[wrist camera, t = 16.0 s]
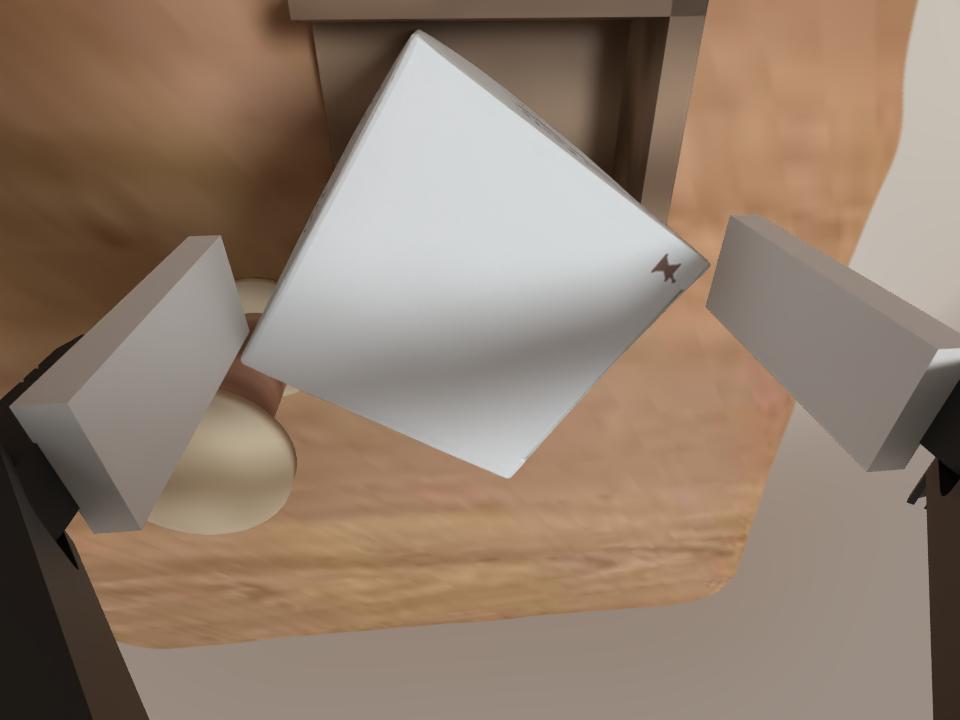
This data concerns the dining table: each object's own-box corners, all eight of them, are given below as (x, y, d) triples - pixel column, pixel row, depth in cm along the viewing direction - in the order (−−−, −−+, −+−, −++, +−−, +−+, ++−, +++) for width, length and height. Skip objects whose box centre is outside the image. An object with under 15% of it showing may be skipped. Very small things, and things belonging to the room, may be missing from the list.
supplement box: (416, 21, 24) (418, 1, 10) (567, 140, 27) (732, 254, 13) (324, 197, 27) (226, 371, 13) (467, 282, 31) (510, 491, 17)
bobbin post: (178, 281, 30) (56, 406, 20) (318, 274, 30) (269, 391, 20) (217, 392, 34) (133, 541, 24) (339, 384, 35) (307, 526, 25)
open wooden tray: (308, -17, 23) (282, -30, 19) (660, -18, 25) (714, -31, 20) (357, 302, 32) (347, 346, 27) (616, 289, 33) (647, 328, 29)
